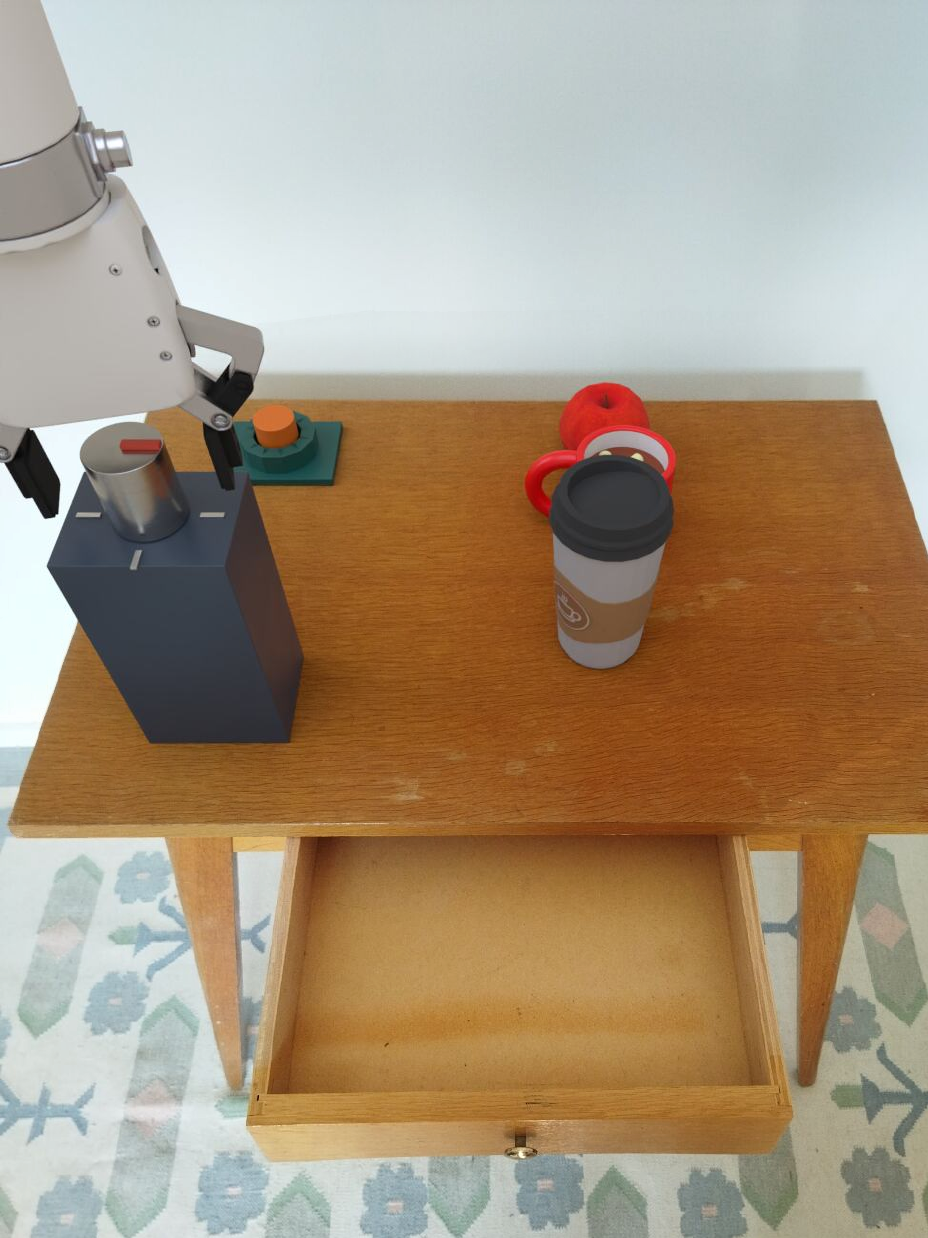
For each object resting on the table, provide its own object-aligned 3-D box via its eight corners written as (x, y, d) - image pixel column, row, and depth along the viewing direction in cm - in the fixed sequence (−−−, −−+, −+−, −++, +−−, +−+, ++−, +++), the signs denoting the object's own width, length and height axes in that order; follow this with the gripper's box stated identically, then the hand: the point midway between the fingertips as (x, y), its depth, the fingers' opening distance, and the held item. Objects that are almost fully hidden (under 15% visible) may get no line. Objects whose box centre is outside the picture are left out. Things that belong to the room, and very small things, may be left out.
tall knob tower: (148, 747, 68) (42, 568, 53) (173, 653, 72) (83, 465, 58) (289, 746, 68) (223, 568, 53) (304, 652, 73) (248, 465, 58)
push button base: (219, 485, 83) (212, 463, 81) (235, 427, 88) (228, 404, 86) (333, 485, 84) (328, 463, 82) (343, 427, 88) (338, 404, 86)
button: (254, 450, 83) (249, 431, 81) (261, 424, 85) (255, 404, 84) (295, 450, 83) (291, 431, 81) (301, 424, 85) (296, 404, 84)
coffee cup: (523, 630, 74) (523, 481, 62) (606, 584, 77) (621, 433, 65) (590, 699, 70) (604, 555, 58) (674, 648, 73) (704, 500, 61)
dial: (103, 542, 54) (66, 469, 50) (122, 490, 57) (89, 416, 52) (180, 542, 54) (151, 469, 50) (196, 490, 57) (169, 416, 52)
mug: (528, 491, 83) (529, 417, 77) (665, 501, 83) (676, 427, 76) (519, 555, 79) (519, 482, 72) (663, 566, 78) (676, 493, 72)
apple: (593, 423, 89) (598, 353, 83) (663, 458, 86) (673, 388, 80) (540, 466, 85) (541, 396, 79) (611, 504, 82) (618, 435, 76)
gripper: (210, 114, 43) (289, 424, 57) (-200, 155, 41) (-13, 468, 55) (218, 194, 39) (301, 508, 53) (-239, 246, 36) (-25, 560, 50)
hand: (141, 488), depth 54 cm, fingers open, 9 cm apart
